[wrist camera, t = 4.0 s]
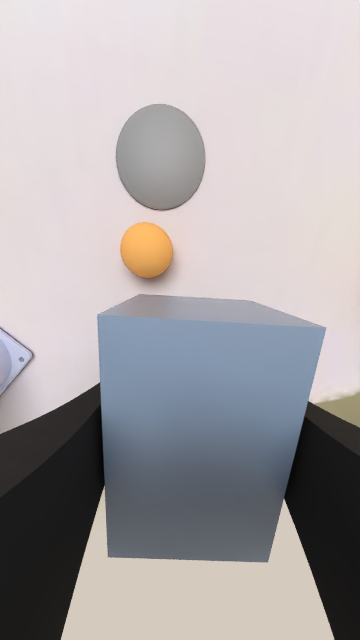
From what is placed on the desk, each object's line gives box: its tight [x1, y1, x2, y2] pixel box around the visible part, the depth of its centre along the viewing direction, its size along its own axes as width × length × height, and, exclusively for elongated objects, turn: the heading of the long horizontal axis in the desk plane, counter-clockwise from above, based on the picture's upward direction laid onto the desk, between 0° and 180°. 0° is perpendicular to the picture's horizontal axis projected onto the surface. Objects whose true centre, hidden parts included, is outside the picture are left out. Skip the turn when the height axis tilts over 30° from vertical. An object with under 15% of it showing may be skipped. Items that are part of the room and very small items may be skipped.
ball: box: [120, 222, 173, 278], centre depth 15 cm, size 4×4×4 cm
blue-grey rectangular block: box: [97, 294, 326, 562], centre depth 8 cm, size 9×6×5 cm, turn 177°
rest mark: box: [116, 104, 205, 210], centre depth 15 cm, size 7×7×1 cm
